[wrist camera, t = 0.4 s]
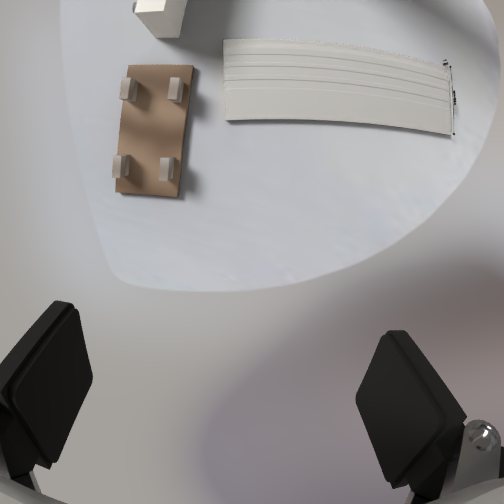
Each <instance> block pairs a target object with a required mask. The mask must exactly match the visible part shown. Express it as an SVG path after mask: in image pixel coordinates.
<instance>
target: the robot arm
mask: <svg viewBox="0 0 504 504" xmlns="http://www.w3.org/2000/svg"><path fill="white" fill-rule="evenodd" d="M92 380H93V374H92V370H91V366H90V362H89V358H88V354H87V349H86V345H85V340H84V336H83V331H82V326H81V320H80V315H79V311H78V310H77V309H75V308H74V305H73V304H72V303H68V302H62V301H54V302H53V303H52V304H51V305H50V306H49V307H48V309H47V310H46V311H45V312H44V313H43V314H42V315H41V316H40V317H39V319H38V320H37V321H36V322H35V323H34V324H33V325H32V326H31V328H30V329H29V330H28V331H27V332H26V334H24V336H23V337H22V338H21V339H20V341H19V342H18V343H17V344H16V345H15V346H14V348H13V349H12V350H11V351H10V353H9V354H8V355H7V356H6V358H5V359H4V360H3V361H2V363H1V364H0V504H66V503H64V502H61V501H58V500H56V499H53V498H51V497H48V496H46V495H43V494H42V493H41V490H40V488H39V485H38V483H37V480H36V478H35V475H34V473H33V468H34V466H35V464H38V465H40V466H42V467H44V468H47V469H50V468H51V465H52V463H56V462H57V461H58V459H59V457H60V454H61V452H62V450H63V447H64V445H65V442H66V440H67V438H68V435H69V432H70V430H71V428H72V426H73V424H74V421H75V419H76V417H77V414H78V412H79V410H80V408H81V405H82V403H83V401H84V399H85V397H86V395H87V393H88V391H89V388H90V386H91V384H92ZM356 404H357V407H358V409H359V412H360V415H361V417H362V420H363V422H364V425H365V427H366V430H367V432H368V435H369V438H370V440H371V443H372V445H373V448H374V451H375V453H376V456H377V458H378V461H379V464H380V466H381V469H382V472H383V475H384V477H385V479H386V481H387V482H390V483H391V486H392V488H393V489H395V488H399V487H403V486H406V485H407V484H409V486H410V488H411V490H410V492H409V495H408V497H407V499H406V502H405V504H504V447H502V446H501V438H500V435H499V433H498V431H497V430H496V428H495V427H494V426H493V425H491V424H490V423H488V422H486V421H484V420H473V421H471V422H469V423H468V424H467V425H466V426H464V424H463V422H464V420H465V419H466V418H467V416H466V414H465V413H464V411H463V410H462V408H461V407H460V405H459V404H458V402H457V401H456V399H455V398H454V396H453V395H452V393H451V392H450V390H449V389H448V388H447V386H446V385H445V383H444V382H443V380H442V379H441V378H440V376H439V375H438V373H437V372H436V371H435V369H434V368H433V367H432V365H431V364H430V362H429V361H428V360H427V358H426V357H425V356H424V354H423V353H422V352H421V350H420V349H419V348H418V346H417V345H416V344H415V342H414V341H413V340H412V338H411V337H410V336H409V334H408V333H407V332H406V331H404V330H395V331H394V330H390V331H387V333H386V334H385V335H383V336H382V337H381V339H380V341H379V343H378V346H377V348H376V351H375V353H374V356H373V358H372V360H371V363H370V365H369V367H368V370H367V372H366V374H365V376H364V379H363V381H362V383H361V385H360V387H359V389H358V392H357V394H356Z"/></svg>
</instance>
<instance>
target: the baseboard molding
mask: <svg viewBox="0 0 504 504" xmlns="http://www.w3.org/2000/svg"><path fill="white" fill-rule="evenodd" d="M223 56H224V95H225V120H251V119H303V120H328V121H344V122H357V123H368V124H378V125H387V126H395V127H403V128H410V129H417V130H423V131H429V132H435V133H441V134H446V135H451V114H450V98H449V83H448V81H449V79H448V75H447V74H446V71H445V67H444V66H441V65H438V64H434V63H431V62H428V61H424V60H420V59H417V58H413V57H409V56H405V55H400V54H396V53H391V52H387V51H382V50H376V49H371V48H365V47H359V46H353V45H346V44H338V43H330V42H320V41H309V40H294V39H224V40H223ZM444 61H445V60H444ZM444 64H445V65H448V62H447V64H446V63H444ZM444 64H443V65H444ZM449 68H450V70H451V66H450V67H449ZM451 80H452V75H451ZM452 94H453V95H454V96H455V91H454V92H453V88H452ZM455 102H456V98H455V97H454V105H456V103H455ZM454 105H453V117H454ZM453 135H455V133H453Z"/></svg>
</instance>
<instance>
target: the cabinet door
mask: <svg viewBox="0 0 504 504" xmlns="http://www.w3.org/2000/svg"><path fill="white" fill-rule="evenodd" d="M186 4H187V0H138V1H137V2H134V4H133V13H135V14H136V15H137V17H138V18H139V19H140V20H141V21H142V22H143V24H144V25H145V26H146V27H147V28H148V30H149V31H150V32H151V33H152V34H153V36H154V37H155V38H179V36H180V31H181V26H182V22H183V17H184V13H185V8H186Z"/></svg>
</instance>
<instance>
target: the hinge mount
mask: <svg viewBox="0 0 504 504" xmlns="http://www.w3.org/2000/svg"><path fill="white" fill-rule="evenodd" d="M193 71H194V66H193V65H129V66H128V72H127V78H122V84H121V91H120V97H119V99H121V100H123V105H122V113H121V122H120V131H119V142H118V154H117V155H115V156H113V170H112V178H116V190H115V192H119V193H133V194H146V195H159V196H170V197H178V196H179V185H180V174H181V163H182V153H183V144H184V136H185V127H186V119H187V112H188V104H189V97H190V90H191V84H192V77H193Z"/></svg>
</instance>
